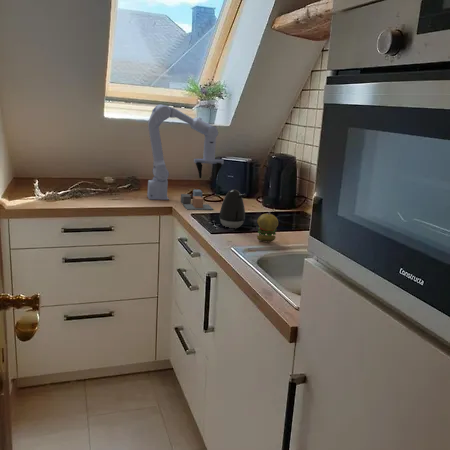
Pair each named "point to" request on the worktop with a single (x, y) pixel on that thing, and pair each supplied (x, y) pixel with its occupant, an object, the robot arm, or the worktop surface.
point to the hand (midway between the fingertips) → (207, 178)
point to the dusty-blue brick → (197, 193)
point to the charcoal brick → (185, 199)
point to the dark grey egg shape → (232, 210)
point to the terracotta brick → (197, 202)
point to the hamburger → (267, 227)
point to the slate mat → (191, 207)
